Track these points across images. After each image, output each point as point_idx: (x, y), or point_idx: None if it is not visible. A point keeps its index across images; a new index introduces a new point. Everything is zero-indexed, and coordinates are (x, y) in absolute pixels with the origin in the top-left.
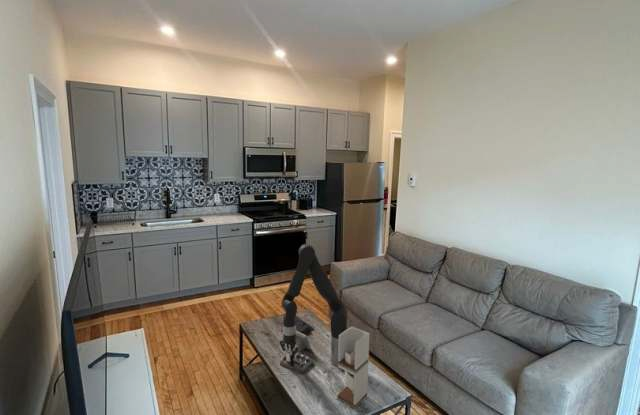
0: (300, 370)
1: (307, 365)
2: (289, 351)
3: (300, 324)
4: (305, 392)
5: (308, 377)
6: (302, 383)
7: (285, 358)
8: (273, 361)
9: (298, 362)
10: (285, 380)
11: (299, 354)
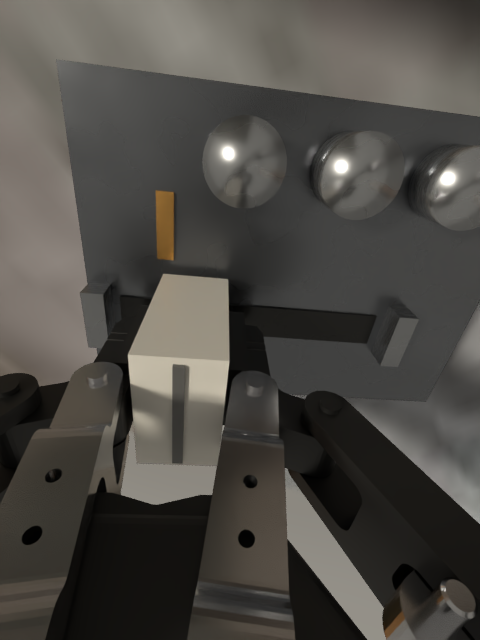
0: (397, 397)
1: (468, 304)
2: (165, 412)
3: None
4: (471, 494)
5: (473, 384)
6: (431, 450)
7: (115, 310)
8: (8, 345)
9: (328, 304)
10: (288, 473)
11: (283, 155)
